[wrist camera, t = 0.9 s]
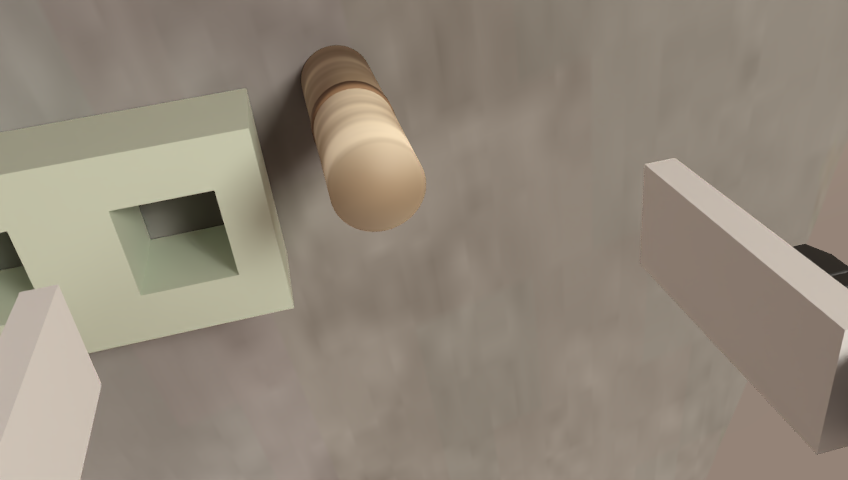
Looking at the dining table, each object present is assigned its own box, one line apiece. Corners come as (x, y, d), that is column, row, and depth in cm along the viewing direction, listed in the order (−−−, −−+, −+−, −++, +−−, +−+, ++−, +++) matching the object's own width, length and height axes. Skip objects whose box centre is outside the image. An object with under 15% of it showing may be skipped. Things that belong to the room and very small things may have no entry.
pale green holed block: (-140, 157, 39) (-195, 211, 34) (246, 88, 41) (248, 128, 36) (-47, 323, 45) (-82, 390, 40) (286, 253, 47) (294, 307, 42)
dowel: (293, 51, 41) (319, 153, 29) (366, 38, 42) (421, 133, 30) (307, 120, 43) (337, 241, 31) (377, 107, 44) (431, 221, 32)
